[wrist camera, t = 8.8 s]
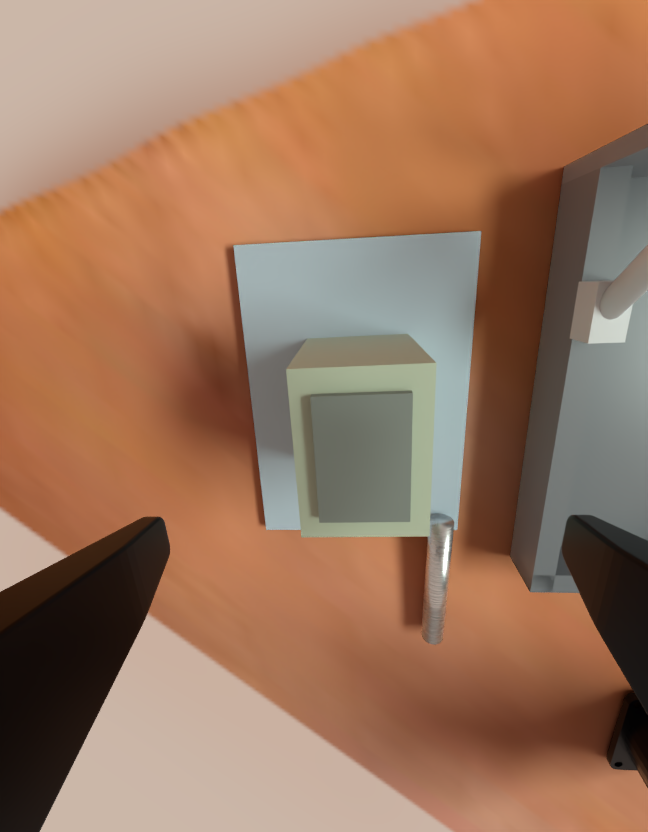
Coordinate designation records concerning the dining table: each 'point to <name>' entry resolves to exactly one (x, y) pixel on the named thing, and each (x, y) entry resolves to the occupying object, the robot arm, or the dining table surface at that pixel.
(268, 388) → the blue-grey flat plate
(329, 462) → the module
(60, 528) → the dining table surface
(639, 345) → the equipment case
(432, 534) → the rod
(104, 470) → the dining table surface
